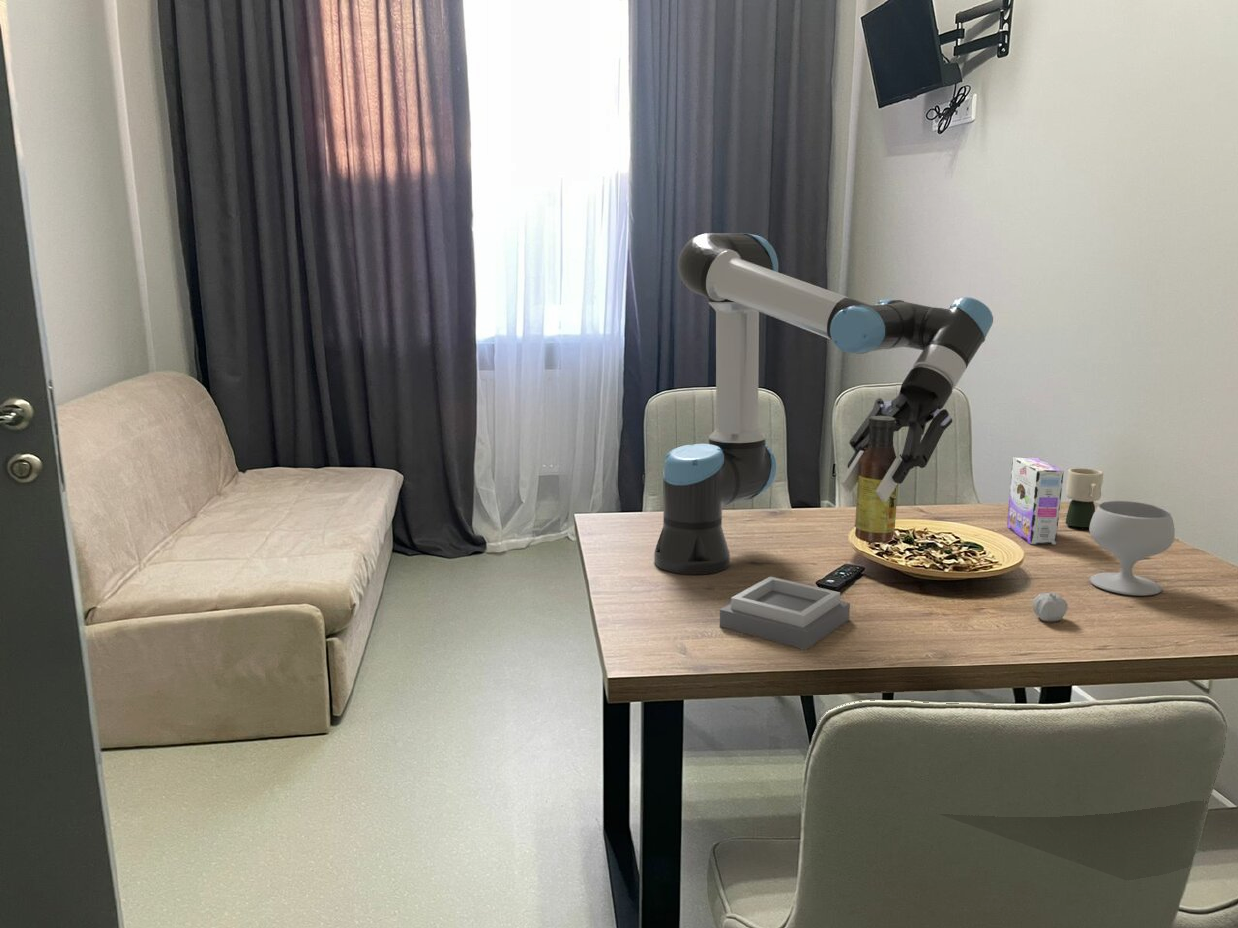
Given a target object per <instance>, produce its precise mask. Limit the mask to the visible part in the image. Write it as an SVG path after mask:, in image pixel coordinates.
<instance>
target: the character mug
mask: <svg viewBox="0 0 1238 928" xmlns="http://www.w3.org/2000/svg"><path fill="white" fill-rule="evenodd" d="M1103 480H1104V472H1103V471H1101V470H1098V469H1093V468H1087V467H1086V468H1085V467H1074V468H1069V469H1068V473H1067V481H1066V489H1065V490H1066V491H1065V496H1066V498H1068V499H1071V501H1070V502H1069V506H1068V509H1067V513H1066V518H1065V522H1064V524H1065V525H1067V526H1071V527H1080V528H1081V529H1082V528H1084V529H1085V528H1088V529H1089V528H1090V523H1091V519H1092V517H1093V514H1094V512H1095V510H1096V507H1095V506H1096V505H1095V502H1096V501H1100V499H1101V497H1102V492H1101V491H1102V484H1103V483H1104V481H1103Z"/></svg>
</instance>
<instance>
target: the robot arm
mask: <svg viewBox="0 0 1238 928" xmlns="http://www.w3.org/2000/svg"><path fill="white" fill-rule="evenodd" d="M776 253H777V252H776V251H775V249H774V247H773V245H772V244H770V242H769V241H768V240H767V239H766V238H765V237H762V236H759V235H757V234H751V233H747V232H746V233H744V232H740V233H736V232H735V233H734V232H733V233H728V232H727V233H720V232H719V233H715V232H708V233H702V234H699V235H696V236H694V237H692V238H691V239H690V240H688V241H687V242H686V244H685V245H684V246H683V247H682V249H681V251H680V254H679V256H678V261H677V271H678V274H679V277H680V279H681V281H682V283H683V284H684V286H686V287H687V289H689V291H691V292H692V293H695V294H697V295H700V296H702V297H705V298H708V301H707V302H708V305H709V306H710V307H712V308H713V310H714V311H715V351H716V353H715V362H716V363H715V367H716V369H715V371H716V372H715V388H716V389H715V390H716V391H715V395H716V396H715V397H716V398H715V400H716V401H715V402H716V404H715V405H716V406H715V407H716V410H715V412H716V413H715V417H716V419H715V421H716V422H715V423H716V424H715V425H716V426H715V430H714V431H712V433H711V434H709V435H708V443H695V444H685V445H681V446H679V447H675V448H673V449H672V450H671V449H670V451H669V452H668V453H667V454H666V456H665V458H664V464H663V470H662V477H663V479H662V482H663V486H662V487H663V488H662V489H663V492H662V493H663V497H662V498H663V500H662V501H663V511H662V513H663V523H662V524H663V525H662V528H661V532H660V534H659V538H658V540H657V543H656V546H655V548H654V554H653V555H654V557H653V558H654V559H653V560H654V561H653V562H654V564H655V566H656V567H658V568H660V569H661V570H664V571H667V572H669V573H673V574H674V573H675V574H680V575H681V574H682V575H706V574H714V573H718V572H721V571H725V569H727V568H728V567H729V566H730V563H731V562H730V558H731V557H730V556H731V553H730V550H729V548H728V543H727V540H726V536H725V533H724V530H723V526H722V525H723V524H722V523H723V521H722V520H723V507H724V506H727V505H732V504H735V503H738V502H741V501H742V502H743V501H747V500H752V499H754V498H756V497H758V496H760V495H762V494H763V493H765V492H767V490H768V489H769V488H770V487H771V485H772V484H773V482H774V480H775V477H776V474H777V460H776V457H775V454H774V453H772V449H771V448H770V446H769V445H767V444H766V435H765V434H764V433H763V432H762V431H761V430H760V429H759V368H760V367H759V363H760V362H759V360H760V359H759V357H760V356H759V355H760V354H759V352H760V349H759V348H760V347H759V346H760V343H759V340H760V339H759V337H760V336H759V335H760V331H759V330H760V329H759V328H760V326H759V325H760V313H761V314H765V315H766V316H768V317H771V318H772V317H773V318H774V319H777V320H780V321H783V322H785V323H788V324H790V325H793V326H796V327H798V328H800V329H803V330H806V331H808V332H810V333H813V334H816V335H819V336H821V337H824V338H826V339H829V340H832V343H834V344H835V346H836V347H837V349H839V350H840V351H842V352H844V353H847V354H858V355H860V354H861V355H862V354H863V355H864V354H867V353H870V352H875V351H877V352H878V351H881V350H889V349H897V348H898V349H899V348H908V349H915V350H920V351H922V352H921V353H920V355H919V356H918V358H917V359H916V361H915V362H914V364H913V365H912V368H911V369H910V371H908V374H907V375H906V376H905V378H904V381H903V382H902V384H901V385H900V389H899V393H898V394H897V395H896V396H894V397H893V398H892V400H889V401H887V400H886V401H884V400H883V398H877V399H876V400H875V401H874V403H873V404H874V405H873V408H872V410H871V411H870V412H869V414H868V415H867V416H866V418H865V419H864V421H863V422H862V423H861V425H860V426H859V428H858V429H857V430H856V432H855V433H854V434H853V436H852V438H850V440H849V445H850V446H851V448H852V449H853V451H854V454H853V455H852V457H851V458H850V460H849V462H848V463H847V470H846V472H845V473H844V475H843V477H842V478H841V480H840V481H839V483H840V484H841V486H842V487H843V489H844V490H845V491H846V492H847V493H852V491H854V490H853V489H854V488H855V487H856V485H857V484H858V475H859V471H860V459H861V456H862V455H863V453H864V452H865V450H866V449H867V447H868V446H869V443H868V440H869V433H870V428H869V418H870V417H871V416H889V417H893V418H895V419H896V421H895V428H894V433H895V432H899V431H900V430H901V429H902V428H903V427H905V428H907V427H908V430H907V434H906V438H905V440H904V441H905V442H904V446H903V449H902V453H901V454H899V457H900V458H897V457H896V459H895V460H894V462H893V464H892V465H891V467H890V468H889V470H888V472H887V473H886V475H885V477H884V478H883V480H882V481H881V483H880V485H879V486H878V488H877V490H876V493H877V494H878V496H879V497H880V499H881V500H882V501H883V502H887V500H888V498H889V497H890V495H891V493H892V492H893V490H894V489H895V487H896V485H897V484H898V485H901V484H902V483H903V482H904V481H905V479H906V477H907V476H908V474H909V472H910V471H911V470H913V468H917V467H919V468H920V469H923V468H926V466H927V465H928V463H929V461H930V460H931V459H930V458H931V457H932V455H933V453H934V451H935V449H936V447H937V445H938V444H939V441H940V439H941V437H942V435H943V434H944V431H945V430H946V429H947V428H948V427H949V426H950V425H951V424H952V423H953V419H952V417H951V415H950V413H949V412H948V410H947V409H946V408H945V409H943V408H944V407H945V405H946V403H947V402H948V400H949V398H950V397H951V395H952V393H953V390H954V389H955V388H956V387H957V385H958V383H959V382H960V380H961V378H962V376H963V375H964V373H965V372H966V370H967V368H968V366H969V364H970V363H971V361H972V360H973V358H974V357H975V355H976V353H977V352H978V350H979V348H980V347H981V345H982V344H984V342H985V341H986V337H987V335H988V334H989V331H990V329H991V328H992V326H993V323H994V315H993V313H992V311H991V309H990V308H989V307H988V306H987V305H986V304H985V303H983V301H980V300H978V299H976V298H973V297H968V296H964V297H960V298H956V299H955V300H954V301H953V302H952V304H950V305H949V307H948V308H943V307H934V306H929V305H922V304H918V303H914V302H908V301H904V300H902V299H897V300H896V299H890V298H889V299H888V298H886V299H885V298H884V299H881V300H879V301H878V302H877V303H876V304H868V303H865V302H862V301H859V300H857V299H853V298H850V297H849V296H846V295H843V294H839V293H837V292H835V291H831V290H828V289H826V288H822V287H820V286H818V285H814V284H812V283H810V282H806V281H803V280H800V279H798V278H795V277H792V276H789V275H787V274H784V273H780V272H779V260H778V257H777V256H778V255H777V254H776ZM929 422H930V423H929ZM927 423H929V425H928V427H927V429H926V426H927ZM922 436H923V437H922Z"/></svg>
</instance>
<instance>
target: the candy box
mask: <svg viewBox="0 0 1238 928" xmlns="http://www.w3.org/2000/svg"><path fill="white" fill-rule="evenodd" d="M1064 472H1065V471H1064V470H1062V469H1060V468H1058V467H1056V466H1055V465H1052V464H1050V463H1048V462H1046V461H1044V460H1042V459H1040V458H1038V457H1012V462H1011V471H1010V485H1009V496H1008V497H1009V499H1008V508H1007V509H1008V512H1007V524H1006V528H1007V527H1008V528H1007V529H1009V528H1010V529H1011V530H1010V529H1009V530H1010V531H1012V532H1013V531H1014V532H1015V533H1014V532H1013V533H1014V534H1016V533H1017V534H1018V535H1019V537H1020V538H1021V539H1022V540H1024V541H1026V542H1027V543H1028V544H1030V545H1047V546H1048V545H1053V546H1055V545H1057V537H1058V529H1059V528H1058V527H1059V519H1060V517H1059V516H1060V510H1061V509H1060V508H1061V499H1062V491H1063V483H1064V482H1063V481H1064ZM1017 534H1016V535H1017ZM1018 535H1017V536H1018Z"/></svg>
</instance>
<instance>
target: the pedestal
mask: <svg viewBox="0 0 1238 928" xmlns="http://www.w3.org/2000/svg"><path fill="white" fill-rule="evenodd" d="M850 610H851V602H847V601H843V600H841V591H837V590H836V591H835V590H831V589H827V588H824V587H823V588H822V587H818V586H813V585H809V584H805V583H801V582H797V581H796V582H795V581H792V580H788V579H783V578H778V577H775V576H768V577H767V578H765V579H763V580H762V581H759V582H757V583H756V584H753V585H751V586H749V587H748V588H746V589H744V590H742V591H741V592H739V593H737V594H736V595H733V596H732V597H730V603H729V604H727V605H726V606H724V607H722V608H720V609H719V627H721V628H725V629H727V630H731V631H734V632H735V631H736V632H739V633H743V634H746V635H750V636H754V637H758V638H761V639H764V640H768V641H773V642H775V643H779V644H783V645H787V646H790V647H794V648H796V649H797V648H798V649H801V650H805V651H806V650H808V649H810V648H811V647H813V646H815V644H816V643H818V642H820V641H822V640H823V639H824V638H825V637H827V636H828V635H829V634H831V633H832V632H834V631H835V630H837V629H838V628H840V627H841V626H842V625H844V624H845V623H847V622H848V621H850Z"/></svg>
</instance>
